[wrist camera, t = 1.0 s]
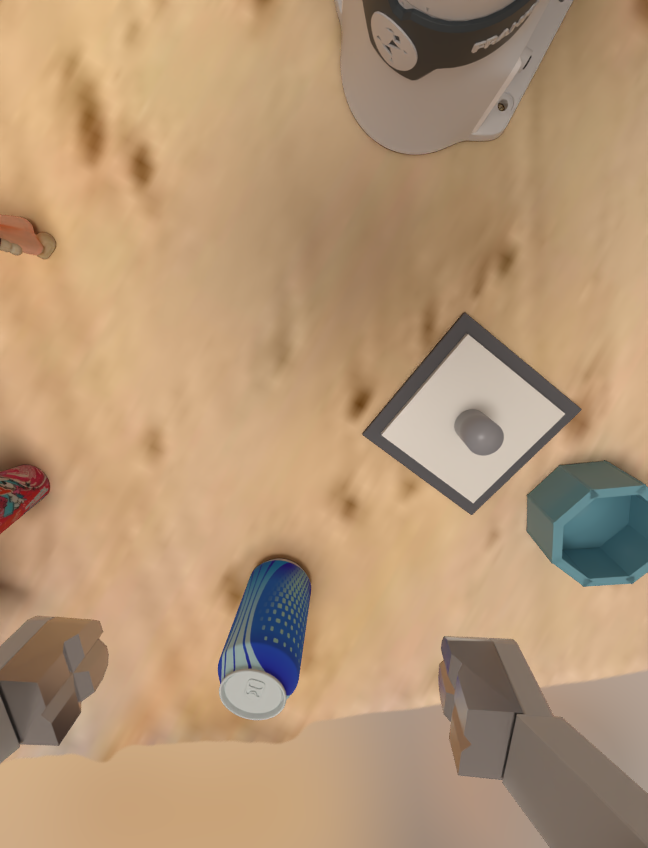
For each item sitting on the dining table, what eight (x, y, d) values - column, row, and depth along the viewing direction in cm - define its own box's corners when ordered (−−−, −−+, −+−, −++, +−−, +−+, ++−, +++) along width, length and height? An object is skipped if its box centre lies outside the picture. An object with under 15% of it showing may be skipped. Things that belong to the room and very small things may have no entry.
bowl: (583, 442, 42) (620, 463, 36) (656, 501, 43) (703, 531, 38) (505, 515, 45) (527, 545, 39) (575, 567, 47) (606, 603, 41)
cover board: (465, 333, 38) (483, 337, 33) (561, 411, 40) (591, 427, 35) (380, 432, 42) (384, 449, 37) (471, 500, 44) (486, 524, 39)
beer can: (323, 588, 50) (312, 709, 35) (275, 612, 52) (244, 737, 37) (289, 543, 49) (261, 651, 33) (239, 569, 51) (192, 683, 35)
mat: (463, 312, 38) (465, 312, 38) (579, 408, 41) (581, 409, 40) (362, 433, 43) (362, 434, 43) (470, 512, 45) (471, 515, 45)
